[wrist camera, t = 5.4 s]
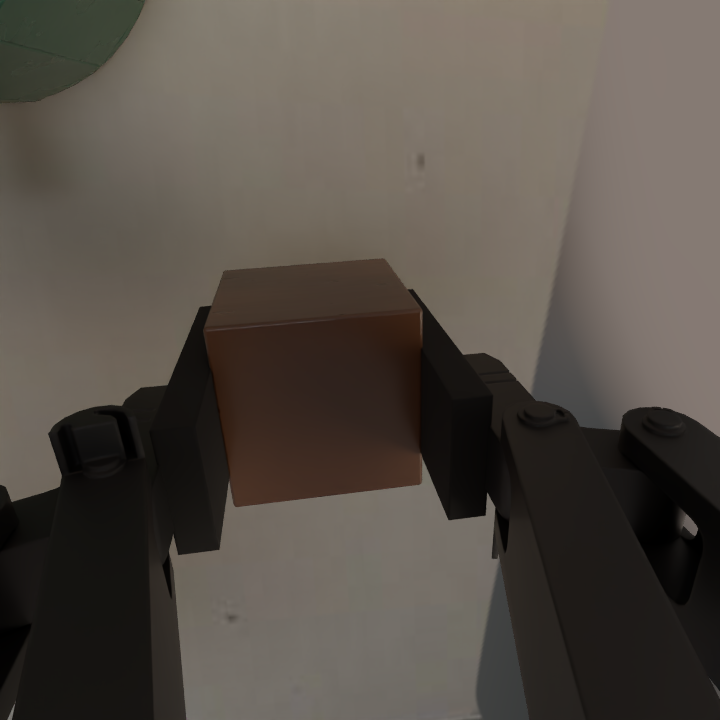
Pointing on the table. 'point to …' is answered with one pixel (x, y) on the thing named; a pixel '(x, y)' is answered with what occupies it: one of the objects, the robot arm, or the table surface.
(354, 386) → the block
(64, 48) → the pot
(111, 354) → the table surface
